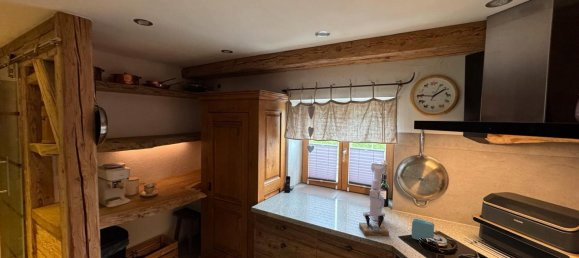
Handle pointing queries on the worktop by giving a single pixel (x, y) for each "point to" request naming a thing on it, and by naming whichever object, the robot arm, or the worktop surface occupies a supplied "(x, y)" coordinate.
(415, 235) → the data package
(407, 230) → the worktop surface
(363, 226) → the board
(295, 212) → the worktop surface
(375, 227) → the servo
